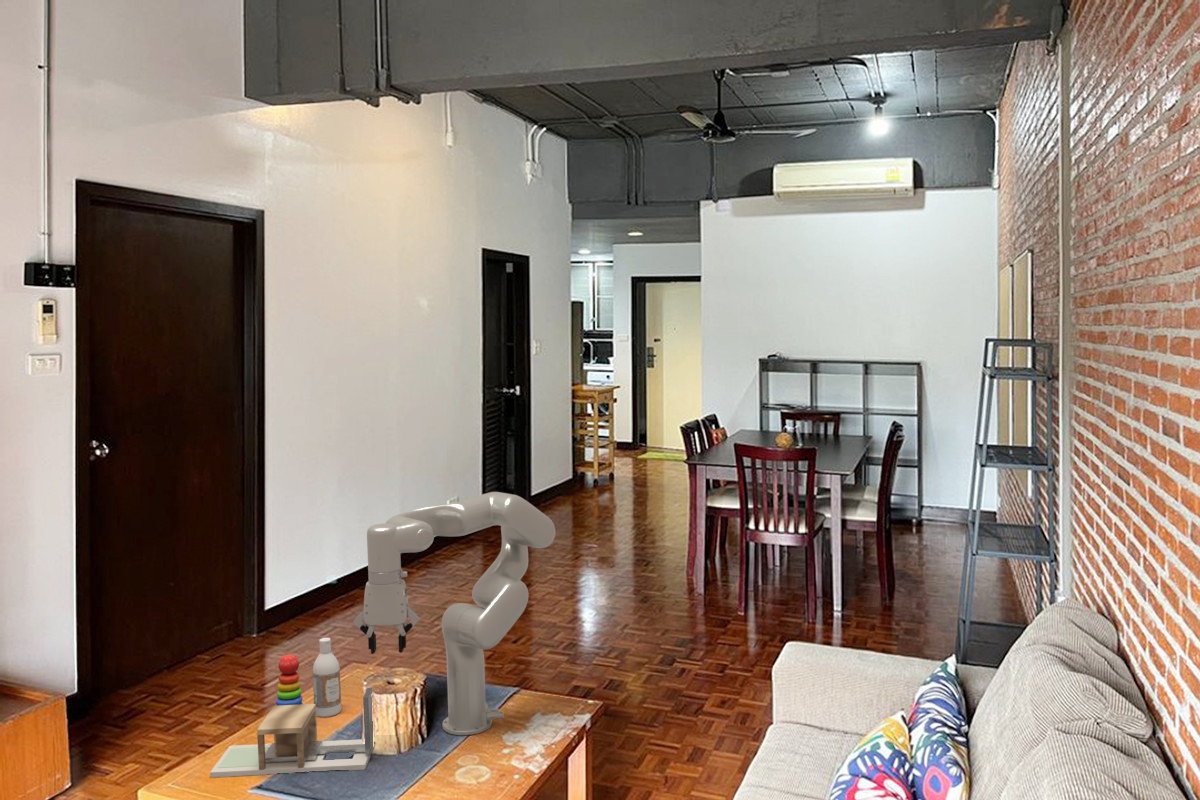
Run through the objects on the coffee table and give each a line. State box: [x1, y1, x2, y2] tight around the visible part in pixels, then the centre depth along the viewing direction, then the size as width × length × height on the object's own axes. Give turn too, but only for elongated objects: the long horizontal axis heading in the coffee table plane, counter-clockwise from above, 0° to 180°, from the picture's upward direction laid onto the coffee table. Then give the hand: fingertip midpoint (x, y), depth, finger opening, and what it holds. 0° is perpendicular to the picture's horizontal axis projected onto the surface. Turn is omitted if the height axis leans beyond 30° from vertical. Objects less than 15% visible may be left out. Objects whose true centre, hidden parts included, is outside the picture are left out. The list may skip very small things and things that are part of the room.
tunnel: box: [256, 703, 318, 770], centre depth 223 cm, size 10×14×10 cm
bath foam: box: [312, 637, 342, 718], centre depth 250 cm, size 7×7×20 cm
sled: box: [265, 687, 374, 762], centre depth 223 cm, size 25×8×14 cm, turn 94°
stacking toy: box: [275, 654, 304, 706], centre depth 242 cm, size 8×8×19 cm
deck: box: [209, 738, 371, 778], centre depth 223 cm, size 35×14×1 cm, turn 94°
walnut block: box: [276, 723, 309, 756], centre depth 223 cm, size 6×6×6 cm
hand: (387, 650), depth 223 cm, fingers open, 5 cm apart
